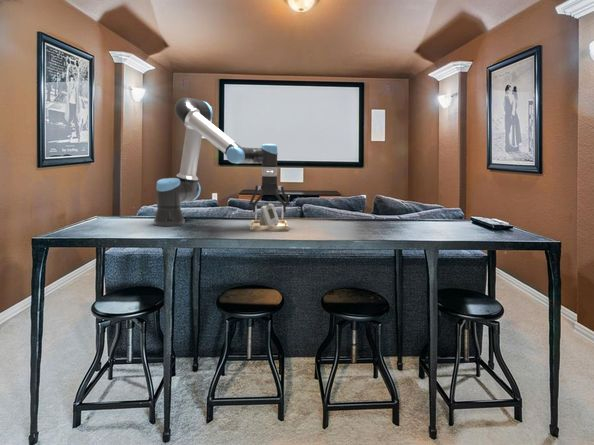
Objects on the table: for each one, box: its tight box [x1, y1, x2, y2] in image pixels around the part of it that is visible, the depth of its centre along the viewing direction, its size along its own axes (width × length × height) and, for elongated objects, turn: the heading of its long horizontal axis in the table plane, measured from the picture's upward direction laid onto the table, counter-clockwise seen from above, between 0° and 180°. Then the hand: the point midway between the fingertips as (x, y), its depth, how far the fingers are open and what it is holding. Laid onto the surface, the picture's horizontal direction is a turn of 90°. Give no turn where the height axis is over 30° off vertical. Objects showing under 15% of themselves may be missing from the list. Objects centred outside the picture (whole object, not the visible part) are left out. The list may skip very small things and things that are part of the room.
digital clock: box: [259, 203, 280, 226], centre depth 216 cm, size 16×9×11 cm, turn 155°
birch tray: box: [249, 219, 289, 232], centre depth 217 cm, size 18×20×2 cm
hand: (269, 219), depth 216 cm, fingers open, 12 cm apart
